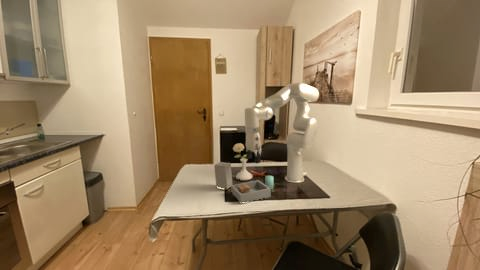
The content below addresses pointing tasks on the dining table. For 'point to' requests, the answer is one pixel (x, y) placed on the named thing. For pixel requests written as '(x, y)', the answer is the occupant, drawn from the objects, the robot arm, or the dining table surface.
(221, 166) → the skincare box
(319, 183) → the dining table surface
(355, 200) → the dining table surface
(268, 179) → the mint rounded capsule part
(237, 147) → the flower in vase
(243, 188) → the walnut cube
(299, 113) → the robot arm
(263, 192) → the tote
